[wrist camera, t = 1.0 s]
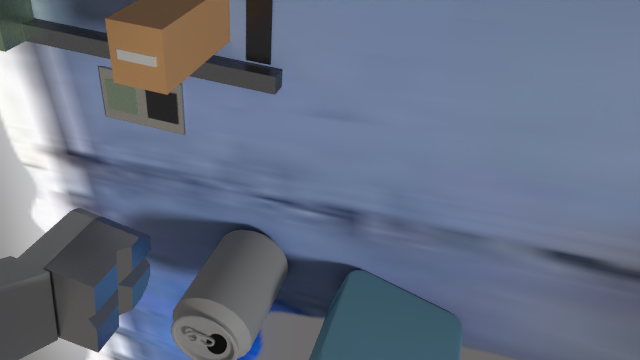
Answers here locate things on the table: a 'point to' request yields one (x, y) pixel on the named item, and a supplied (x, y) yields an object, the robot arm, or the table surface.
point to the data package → (385, 324)
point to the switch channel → (138, 104)
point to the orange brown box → (165, 40)
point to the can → (229, 297)
